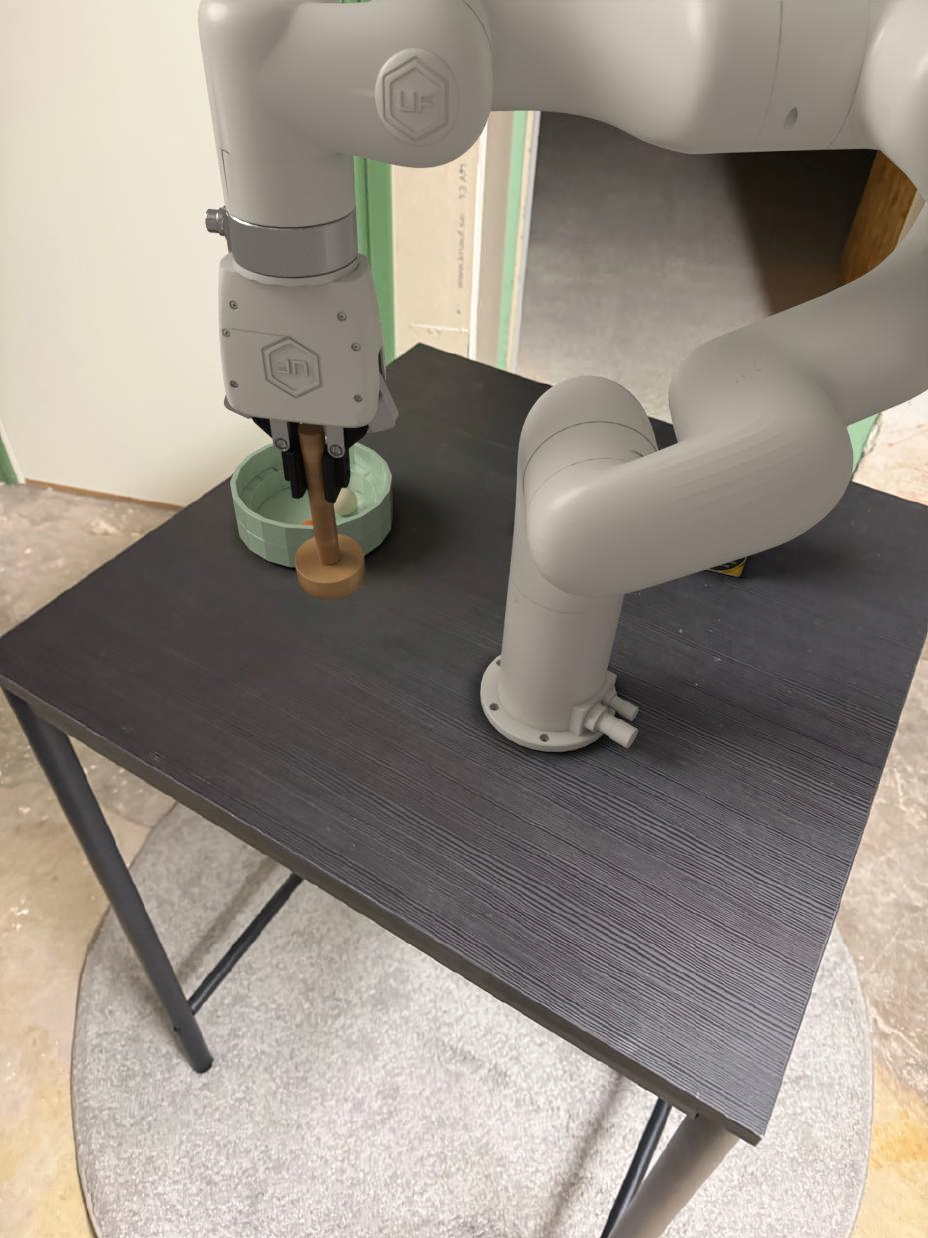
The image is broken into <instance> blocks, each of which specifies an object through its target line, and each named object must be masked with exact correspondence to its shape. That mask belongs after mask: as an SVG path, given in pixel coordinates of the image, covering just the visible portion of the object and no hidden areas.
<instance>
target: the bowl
mask: <svg viewBox="0 0 928 1238" xmlns="http://www.w3.org/2000/svg"><path fill="white" fill-rule="evenodd" d="M325 441H326V444H327V435H325ZM349 456H350V471H351V476H350V482H349V485H348V487H347V488H346V489H349V490H351V491H352V492H354V494H355V495H356V497H357V507H356V509H355V510H354V511H353V512H352V513H351V514H348V515H340V514H338V513H336V512H335V518H336V525H337V533H338V534H341V535H345V536H348V537H350V538H352V539H354V540H355V541H356V542H357V543H358V544H359V545H360V546H361V548H362V550H363V552H364V557H365V556H366V555H368V554H369V553H370V552H372V551H374V550H375V549H376V548H378V547H379V546H381V544H382V543H383V542H384V540H385V539H386V537H387V536H388V535H389V533H390V532H391V530H392V524H393V517H394V503H393V502H394V501H393V498H394V497H393V496H394V495H393V475H392V471H391V470H390V469H391V468H390V467H389V465H388V463H387V461H386V460H385V459H384V458H383V457H382V456H381V455H380V454H379V453H378V452H377V451H376V450H374V449H372V448H370V447H368V446H366V445H364V444H362V443H360V442H359V441H358V442H357V443H355V444H354V445H353V446H352V447H350V448H349ZM229 481H230V482H229V483H230V491H231V497H232V503H233V509H234V514H235V519H236V526H237V531H238V536H239V538H240V540H242V542H243V543H244V544H245V546H246V547H247V548H248V550H249V551H250V552H252V553H253V554H255V555H258V556H259V557H261V558H262V559H264V560H266V561H267V562H271V563H273V564H277V565H281V566H285V567H288V568H296V567H295V555H296V553H297V551H298V549H299V548H300V547H301V545H302V544H304V543H305V542H306V541H307V540H309V539H311V538H313V537H315V535H314V529H313V525H301V524H302V523H303V522H305V521H308V520H312V516H311V510H310V504H309V498H308V491H307V490H306V492H305V494H304V496H303V498H302V497H301V498H300V499H295V498H292V493H291V485H290V481H286V480H285V478H284V470H283V463H282V455H281V451H279V450H277V449H276V448H275V447H274V445H273V442H271V443H268V444H266V445H264V446H262V447H260V448H258V449H256V450H255V451H253V452H251V453H249V454H247V456H245V458H243V460H242V461H240V462H239V464H238V465H237V466H236V467H235V468H234V471H233V473H232V476H231V479H230V480H229Z"/></svg>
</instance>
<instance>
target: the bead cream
mask: <svg viewBox="0 0 928 1238" xmlns="http://www.w3.org/2000/svg"><path fill="white" fill-rule="evenodd" d="M356 507H357V497H356V495H355V494H354V492H352V491H351V490H349V489H346V488H342V489H341V491H340V493H339V496H338V498H337V500H336V502H335V503H334V510H335V512H336V513H338V514H340V515H348V514H351V513H352V512H353V511H354V510H355V509H356Z"/></svg>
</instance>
